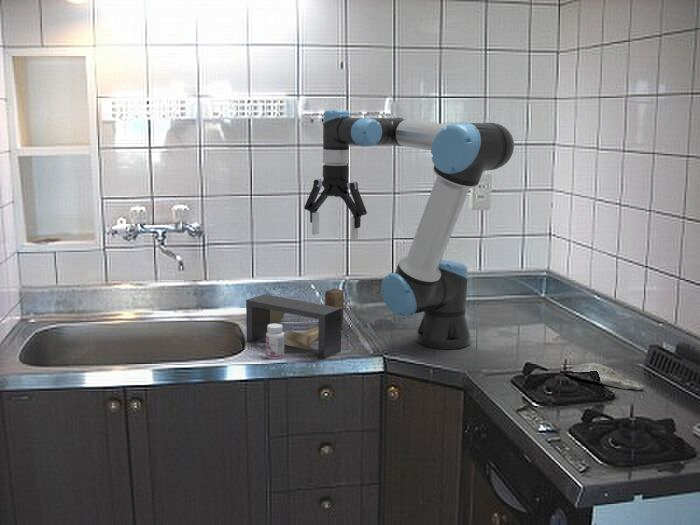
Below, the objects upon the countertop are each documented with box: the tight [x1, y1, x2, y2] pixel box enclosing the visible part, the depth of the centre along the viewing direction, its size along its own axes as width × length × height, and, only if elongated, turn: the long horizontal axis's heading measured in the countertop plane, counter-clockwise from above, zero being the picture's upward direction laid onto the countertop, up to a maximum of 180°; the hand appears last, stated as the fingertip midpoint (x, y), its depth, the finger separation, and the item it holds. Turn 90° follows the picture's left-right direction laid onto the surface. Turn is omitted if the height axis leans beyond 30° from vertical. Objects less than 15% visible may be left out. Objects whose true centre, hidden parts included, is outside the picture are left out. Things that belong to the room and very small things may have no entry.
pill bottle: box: [265, 323, 285, 360], centre depth 198 cm, size 5×5×8 cm
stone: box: [569, 362, 645, 391], centre depth 186 cm, size 20×4×10 cm
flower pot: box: [270, 295, 286, 324], centre depth 229 cm, size 10×10×7 cm
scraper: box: [285, 288, 345, 350], centre depth 215 cm, size 7×21×12 cm, turn 148°
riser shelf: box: [245, 293, 342, 360], centre depth 206 cm, size 26×8×12 cm, turn 58°
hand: (334, 236), depth 224 cm, fingers open, 13 cm apart
